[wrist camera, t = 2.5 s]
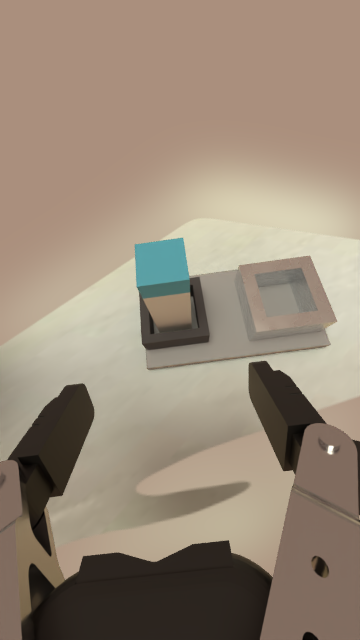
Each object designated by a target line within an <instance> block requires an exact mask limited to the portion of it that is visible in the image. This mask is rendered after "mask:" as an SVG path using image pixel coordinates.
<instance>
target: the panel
mask: <svg viewBox="0 0 360 640" xmlns="http://www.w3.org/2000/svg"><path fill="white" fill-rule="evenodd" d="M236 274H237V270H231V271H224V272H216V273H209V274H202V275H194V276H189V278H194V277H200V282H201V287H202V293H203V299H204V304H205V310H206V316H207V321H208V327H209V333H210V337H209V342H207V343H199V344H192V345H184V346H176V347H169V348H161V349H154V350H147V349H146V360H147V369H157V368H165V367H172V366H180V365H188V364H195V363H203V362H211V361H219V360H226V359H234V358H242V357H249V356H257V355H265V354H273V353H280V352H288V351H296V350H303V349H311V348H319V347H326V346H328V345H331V344H330V342H329V339H328V336H327V334H326V331H325V329H323V330H322V331H320V332H314V333H306V334H299V335H291V336H283V337H276V338H268V339H260V340H253V341H249V339H248V335H247V331H246V327H245V323H244V319H243V315H242V311H241V306H240V302H239V298H238V294H237V290H236V286H235V282H234V280H235V277H236ZM258 289H259V292H260V296H261V299H262V302H263V306H264V309H265V313H266V316H267V317H273V316H281V315H288V314H296V313H300V312H299V309H298V306H297V303H296V300H295V297H294V295H293V292H292V289H291V286H290V283H287V284H280V285H272V286H265V287H258ZM190 300H191V321H192V329H194V328H198V325H197V319H196V312H195V306H194V300H193V296H191V297H190ZM153 323H154V334H156V333H160V332H159V330H158V328H157V326H156V324H155V322H154V320H153Z"/></svg>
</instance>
